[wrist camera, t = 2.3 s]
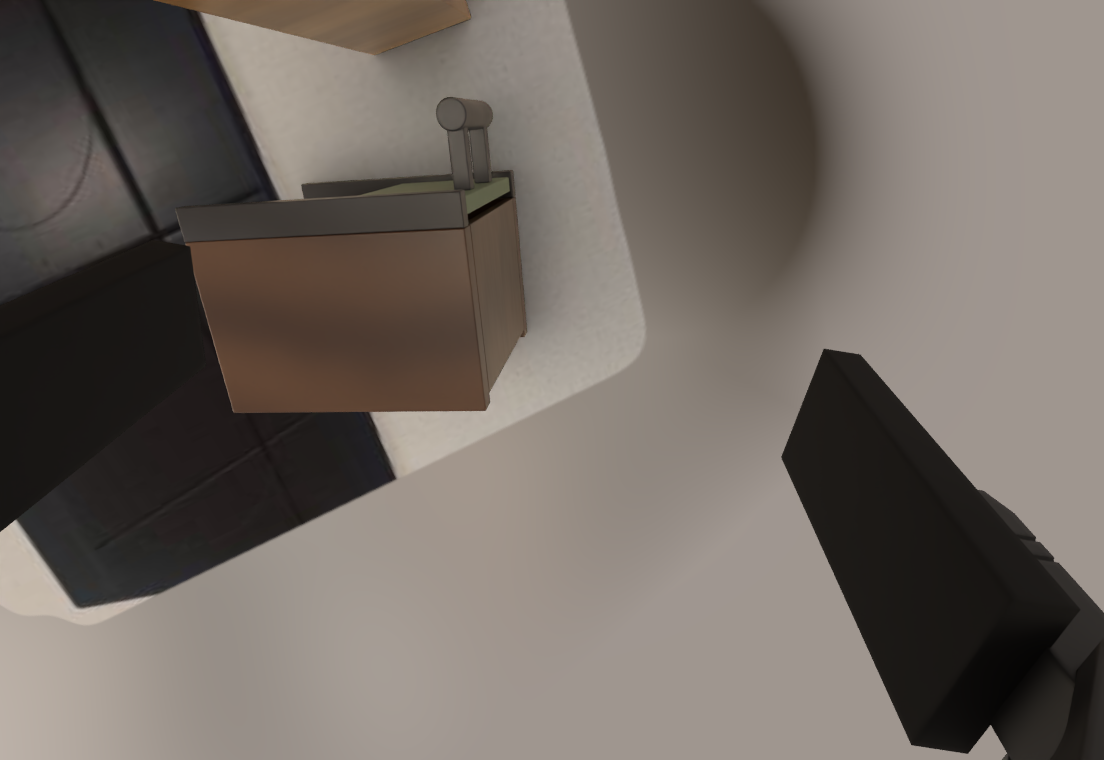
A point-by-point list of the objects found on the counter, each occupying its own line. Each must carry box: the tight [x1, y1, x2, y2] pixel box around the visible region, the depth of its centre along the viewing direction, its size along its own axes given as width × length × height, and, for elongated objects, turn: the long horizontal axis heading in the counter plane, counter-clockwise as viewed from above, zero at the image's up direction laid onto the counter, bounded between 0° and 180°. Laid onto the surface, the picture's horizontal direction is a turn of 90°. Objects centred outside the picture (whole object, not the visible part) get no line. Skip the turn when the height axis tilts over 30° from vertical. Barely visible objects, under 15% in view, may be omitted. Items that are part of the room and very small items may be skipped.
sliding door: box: [359, 97, 510, 214], centre depth 31 cm, size 5×6×10 cm
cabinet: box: [175, 170, 527, 413], centre depth 34 cm, size 10×13×12 cm
